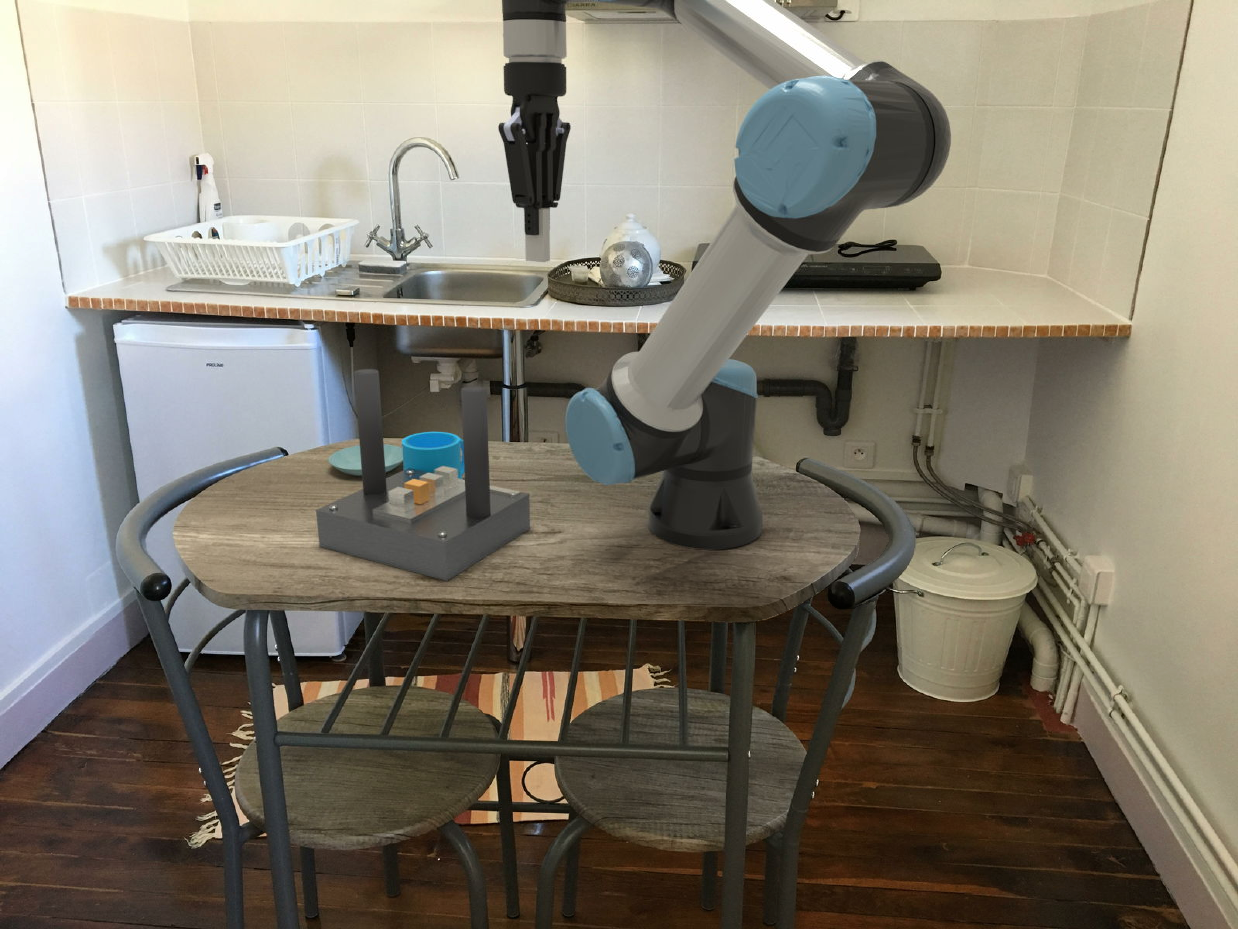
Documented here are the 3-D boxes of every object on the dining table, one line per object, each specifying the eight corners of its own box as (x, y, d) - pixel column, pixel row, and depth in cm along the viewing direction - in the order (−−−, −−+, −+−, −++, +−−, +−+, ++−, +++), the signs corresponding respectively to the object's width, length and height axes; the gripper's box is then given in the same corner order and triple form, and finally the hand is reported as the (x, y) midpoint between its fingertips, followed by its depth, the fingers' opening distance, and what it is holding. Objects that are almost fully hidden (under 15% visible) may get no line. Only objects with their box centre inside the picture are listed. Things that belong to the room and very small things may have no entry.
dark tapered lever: (495, 512, 126) (491, 388, 121) (481, 520, 124) (476, 394, 118) (475, 507, 128) (470, 385, 122) (461, 515, 125) (455, 390, 120)
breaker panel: (530, 529, 134) (529, 472, 131) (446, 581, 119) (443, 518, 116) (410, 501, 143) (407, 447, 140) (319, 546, 128) (313, 487, 125)
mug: (436, 508, 141) (433, 453, 138) (393, 497, 145) (389, 443, 142) (490, 483, 150) (488, 431, 148) (448, 473, 154) (445, 422, 152)
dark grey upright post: (391, 488, 134) (383, 370, 128) (376, 495, 131) (367, 376, 126) (373, 484, 135) (365, 367, 129) (358, 491, 132) (349, 372, 127)
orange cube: (429, 499, 128) (428, 482, 127) (420, 504, 126) (419, 486, 126) (414, 496, 129) (413, 478, 128) (405, 500, 128) (404, 483, 127)
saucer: (356, 488, 148) (355, 474, 147) (315, 469, 156) (313, 455, 155) (423, 469, 156) (422, 455, 155) (380, 452, 164) (379, 438, 163)
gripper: (537, 63, 128) (540, 252, 136) (477, 58, 117) (483, 264, 125) (589, 63, 124) (588, 256, 132) (531, 58, 114) (535, 269, 121)
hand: (537, 260), depth 128 cm, fingers closed
